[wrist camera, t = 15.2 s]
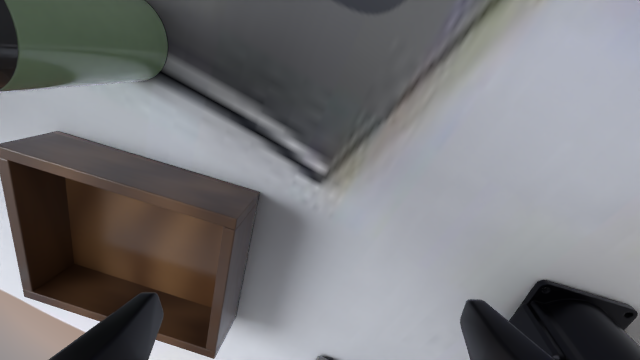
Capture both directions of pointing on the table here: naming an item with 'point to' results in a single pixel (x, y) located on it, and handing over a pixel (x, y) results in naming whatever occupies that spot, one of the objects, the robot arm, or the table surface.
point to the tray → (127, 235)
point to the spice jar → (78, 43)
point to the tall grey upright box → (321, 358)
